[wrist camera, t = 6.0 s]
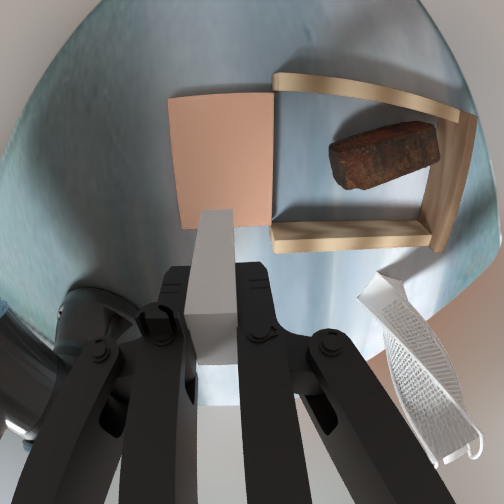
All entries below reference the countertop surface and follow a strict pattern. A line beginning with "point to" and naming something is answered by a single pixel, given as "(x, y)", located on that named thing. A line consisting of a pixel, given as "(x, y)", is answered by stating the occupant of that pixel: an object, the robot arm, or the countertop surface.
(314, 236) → the channel
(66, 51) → the countertop surface
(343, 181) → the brick
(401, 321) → the skyscraper
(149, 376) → the robot arm
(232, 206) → the tile
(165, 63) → the countertop surface
